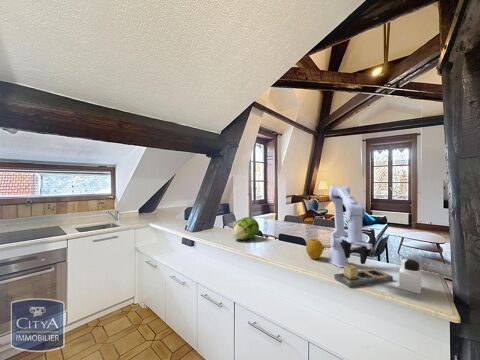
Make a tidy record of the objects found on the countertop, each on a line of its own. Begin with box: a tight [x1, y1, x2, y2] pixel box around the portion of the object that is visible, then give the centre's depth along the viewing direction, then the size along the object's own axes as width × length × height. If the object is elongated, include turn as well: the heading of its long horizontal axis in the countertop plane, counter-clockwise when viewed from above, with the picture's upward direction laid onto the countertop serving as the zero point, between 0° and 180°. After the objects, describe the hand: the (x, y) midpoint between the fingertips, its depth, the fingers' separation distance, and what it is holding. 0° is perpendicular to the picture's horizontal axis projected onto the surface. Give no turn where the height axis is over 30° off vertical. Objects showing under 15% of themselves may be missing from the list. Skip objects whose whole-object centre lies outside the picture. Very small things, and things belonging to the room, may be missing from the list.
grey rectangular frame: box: [333, 268, 394, 289], centre depth 97 cm, size 9×25×2 cm, turn 107°
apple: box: [305, 238, 324, 260], centre depth 124 cm, size 10×10×12 cm
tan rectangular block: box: [343, 263, 359, 281], centre depth 95 cm, size 4×4×7 cm
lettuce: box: [232, 216, 260, 241], centre depth 167 cm, size 18×23×19 cm
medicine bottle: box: [398, 258, 422, 295], centre depth 89 cm, size 7×7×12 cm
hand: (355, 260), depth 94 cm, fingers open, 7 cm apart
